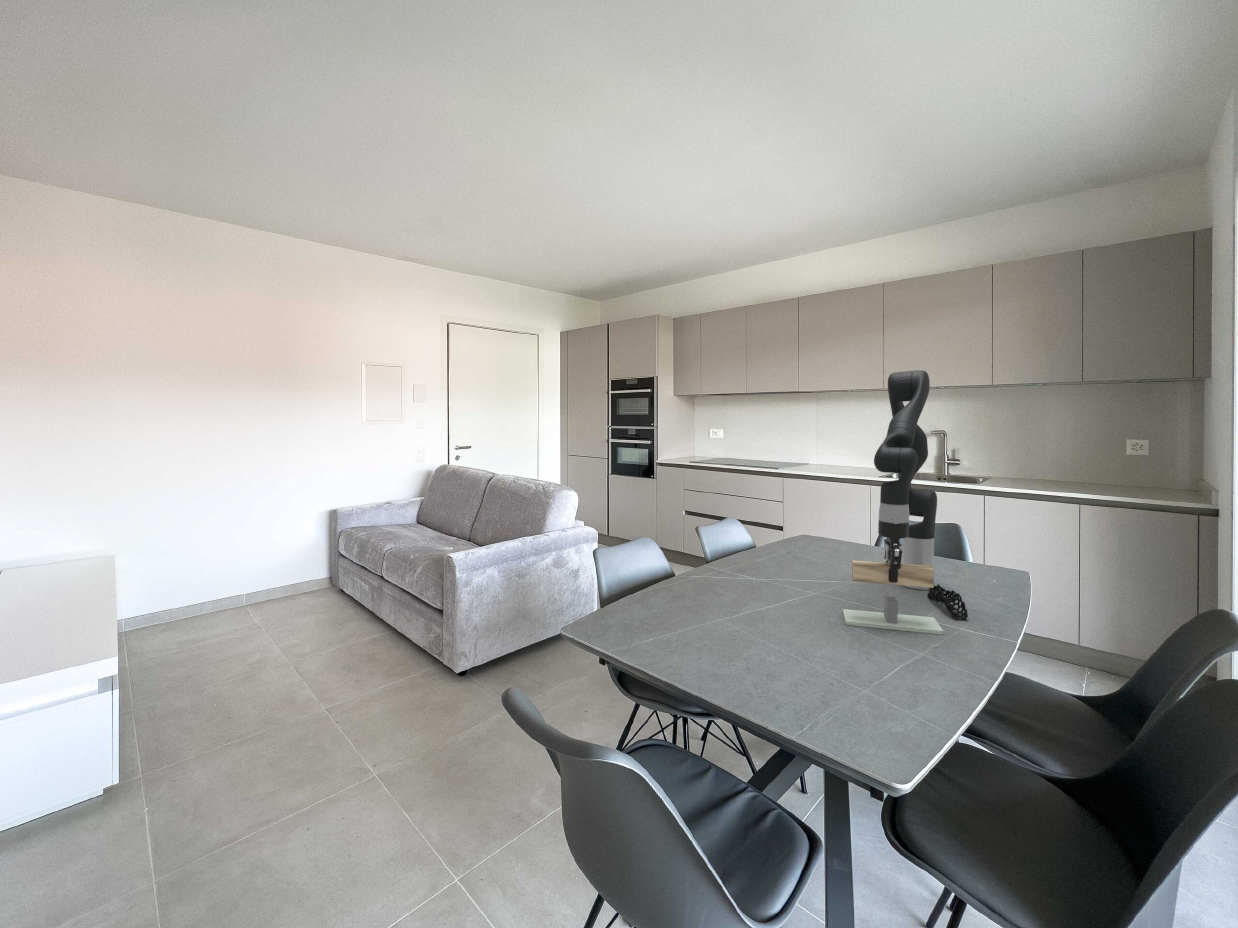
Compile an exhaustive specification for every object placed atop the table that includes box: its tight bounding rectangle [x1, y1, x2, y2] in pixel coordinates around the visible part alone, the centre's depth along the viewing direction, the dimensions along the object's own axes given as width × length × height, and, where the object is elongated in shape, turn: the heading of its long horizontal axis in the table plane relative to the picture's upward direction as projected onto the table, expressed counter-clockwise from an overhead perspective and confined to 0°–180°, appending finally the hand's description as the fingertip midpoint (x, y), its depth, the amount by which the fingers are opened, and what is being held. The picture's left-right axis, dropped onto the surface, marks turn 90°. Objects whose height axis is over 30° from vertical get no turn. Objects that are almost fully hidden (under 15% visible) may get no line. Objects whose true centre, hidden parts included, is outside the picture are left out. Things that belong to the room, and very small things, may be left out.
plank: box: [851, 559, 935, 588], centre depth 150 cm, size 4×20×5 cm, turn 72°
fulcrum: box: [842, 594, 944, 636], centre depth 151 cm, size 10×24×7 cm, turn 72°
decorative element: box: [927, 584, 969, 622], centre depth 162 cm, size 22×5×6 cm, turn 169°
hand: (891, 579), depth 150 cm, fingers closed on plank, 4 cm apart
